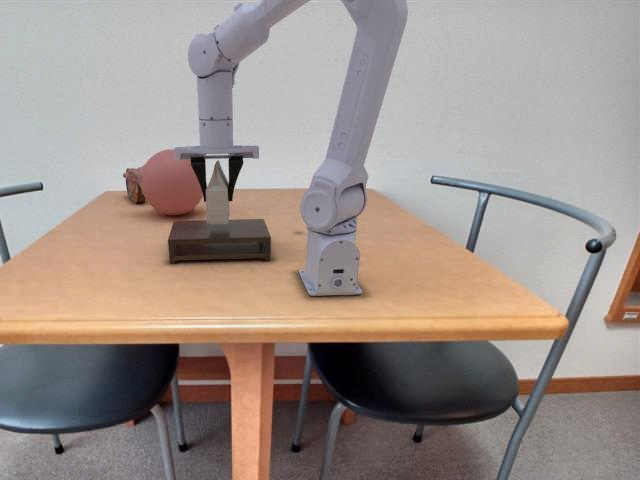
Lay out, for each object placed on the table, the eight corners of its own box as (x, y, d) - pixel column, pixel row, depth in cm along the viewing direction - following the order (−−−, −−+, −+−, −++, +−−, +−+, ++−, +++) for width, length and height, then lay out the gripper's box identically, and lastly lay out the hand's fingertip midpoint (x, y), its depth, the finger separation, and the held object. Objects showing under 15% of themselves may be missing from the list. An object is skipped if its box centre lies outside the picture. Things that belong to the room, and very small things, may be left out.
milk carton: (229, 214, 83) (228, 160, 79) (227, 224, 77) (226, 165, 73) (210, 214, 83) (208, 160, 79) (207, 224, 77) (204, 165, 73)
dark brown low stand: (270, 260, 78) (270, 236, 76) (169, 263, 77) (167, 239, 75) (263, 240, 88) (263, 218, 87) (175, 242, 88) (173, 220, 86)
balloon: (138, 205, 116) (132, 145, 110) (211, 207, 114) (209, 145, 107) (116, 221, 103) (107, 153, 96) (199, 223, 100) (195, 154, 93)
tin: (126, 195, 128) (122, 166, 125) (136, 194, 129) (133, 165, 126) (137, 206, 116) (134, 173, 112) (149, 204, 117) (146, 173, 113)
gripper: (256, 117, 76) (256, 194, 82) (174, 118, 76) (179, 196, 82) (260, 119, 70) (259, 203, 76) (170, 121, 69) (176, 205, 75)
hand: (218, 200), depth 78 cm, fingers closed on milk carton, 4 cm apart
